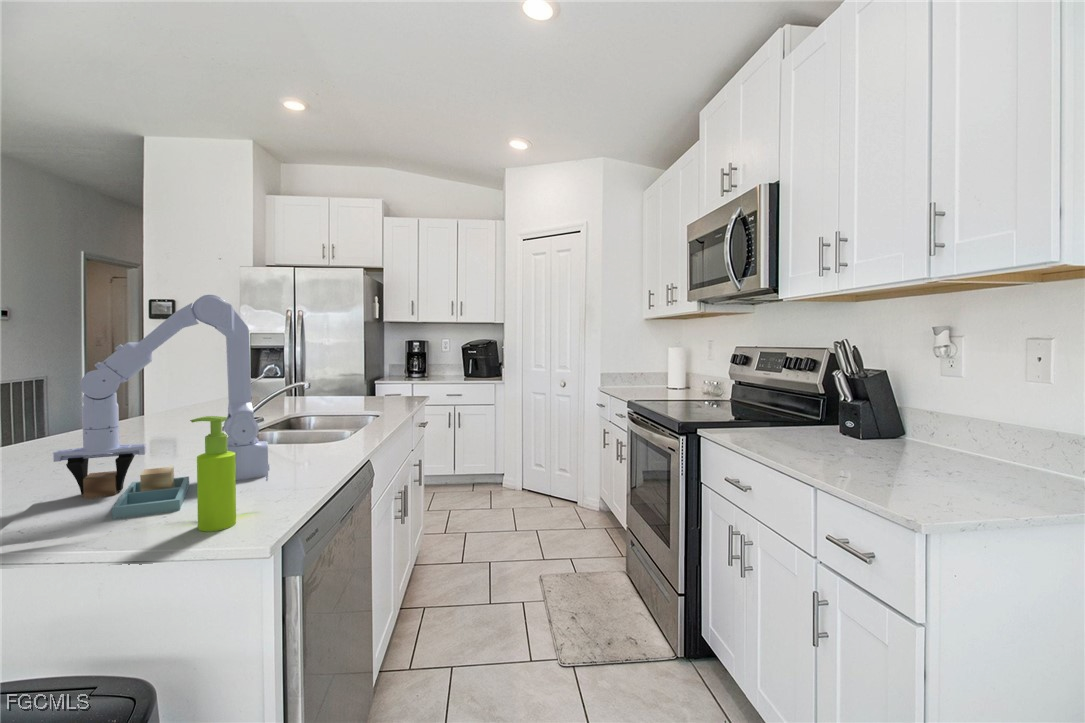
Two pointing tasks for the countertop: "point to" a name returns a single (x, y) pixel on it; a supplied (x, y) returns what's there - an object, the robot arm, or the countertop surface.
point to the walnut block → (100, 484)
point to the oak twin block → (157, 479)
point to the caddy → (150, 499)
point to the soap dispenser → (216, 480)
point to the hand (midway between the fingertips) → (102, 491)
